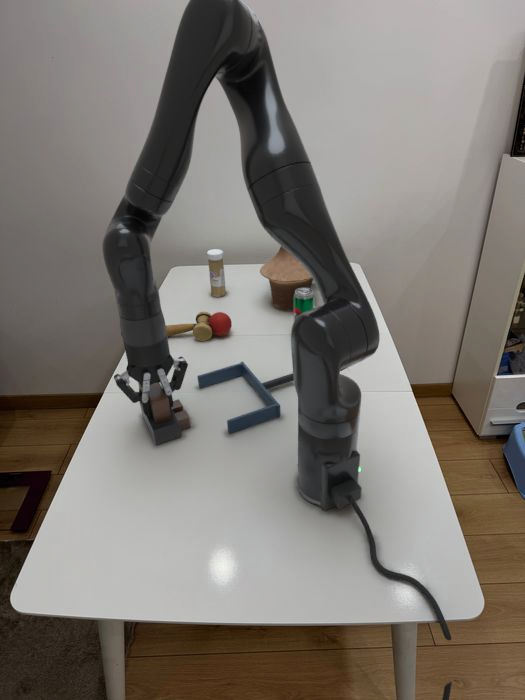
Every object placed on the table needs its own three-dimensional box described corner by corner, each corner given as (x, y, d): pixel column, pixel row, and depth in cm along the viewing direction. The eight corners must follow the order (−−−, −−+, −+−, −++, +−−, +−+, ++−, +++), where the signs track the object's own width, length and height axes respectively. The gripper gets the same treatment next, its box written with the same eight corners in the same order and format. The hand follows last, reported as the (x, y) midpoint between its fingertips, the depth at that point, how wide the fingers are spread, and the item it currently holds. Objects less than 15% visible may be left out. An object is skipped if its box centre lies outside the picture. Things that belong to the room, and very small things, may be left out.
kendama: (162, 350, 122) (232, 338, 121) (155, 326, 120) (227, 314, 118) (168, 339, 129) (234, 328, 128) (162, 317, 127) (229, 305, 126)
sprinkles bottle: (208, 295, 145) (203, 253, 138) (216, 289, 148) (212, 247, 141) (221, 298, 143) (217, 255, 136) (229, 292, 146) (225, 249, 139)
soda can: (312, 339, 121) (313, 296, 115) (292, 338, 122) (291, 295, 116) (314, 329, 125) (315, 287, 119) (295, 328, 126) (295, 286, 120)
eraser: (181, 436, 93) (176, 401, 88) (156, 445, 91) (149, 409, 86) (166, 407, 100) (160, 373, 96) (142, 414, 98) (135, 380, 94)
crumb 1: (184, 415, 98) (182, 405, 97) (172, 419, 97) (170, 409, 96) (180, 408, 100) (178, 399, 99) (168, 412, 99) (166, 402, 98)
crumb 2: (190, 427, 95) (189, 417, 94) (178, 431, 94) (177, 421, 93) (186, 419, 97) (185, 409, 96) (174, 423, 96) (172, 413, 95)
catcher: (315, 404, 99) (315, 393, 98) (229, 434, 93) (228, 422, 91) (274, 362, 113) (274, 351, 111) (198, 386, 106) (196, 375, 105)
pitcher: (327, 292, 143) (331, 196, 129) (316, 319, 130) (318, 215, 115) (270, 287, 148) (267, 194, 133) (253, 313, 134) (248, 212, 119)
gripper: (108, 354, 79) (127, 434, 88) (190, 333, 84) (200, 411, 93) (99, 334, 85) (118, 411, 94) (176, 315, 90) (187, 390, 99)
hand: (158, 410), depth 94 cm, fingers closed on eraser, 3 cm apart
